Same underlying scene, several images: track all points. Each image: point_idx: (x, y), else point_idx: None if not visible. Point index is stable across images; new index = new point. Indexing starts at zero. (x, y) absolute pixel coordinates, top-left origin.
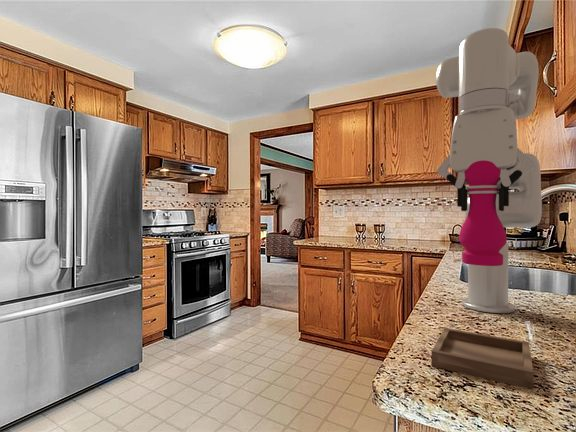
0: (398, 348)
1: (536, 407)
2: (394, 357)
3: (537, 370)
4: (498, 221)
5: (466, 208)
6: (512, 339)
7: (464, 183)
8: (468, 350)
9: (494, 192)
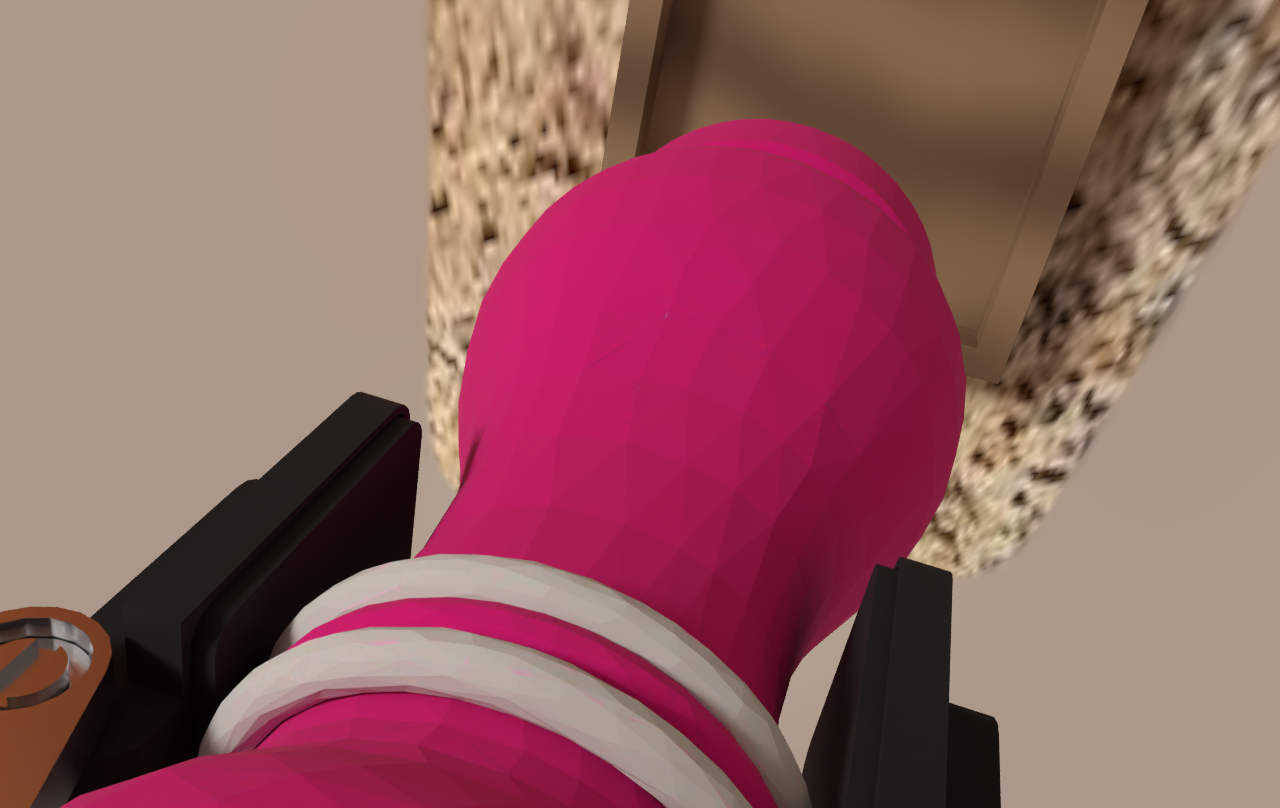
0: (444, 70)
1: (949, 481)
2: (446, 198)
3: (1116, 130)
4: (826, 635)
5: (400, 540)
6: None
7: (69, 780)
8: (787, 57)
9: None
